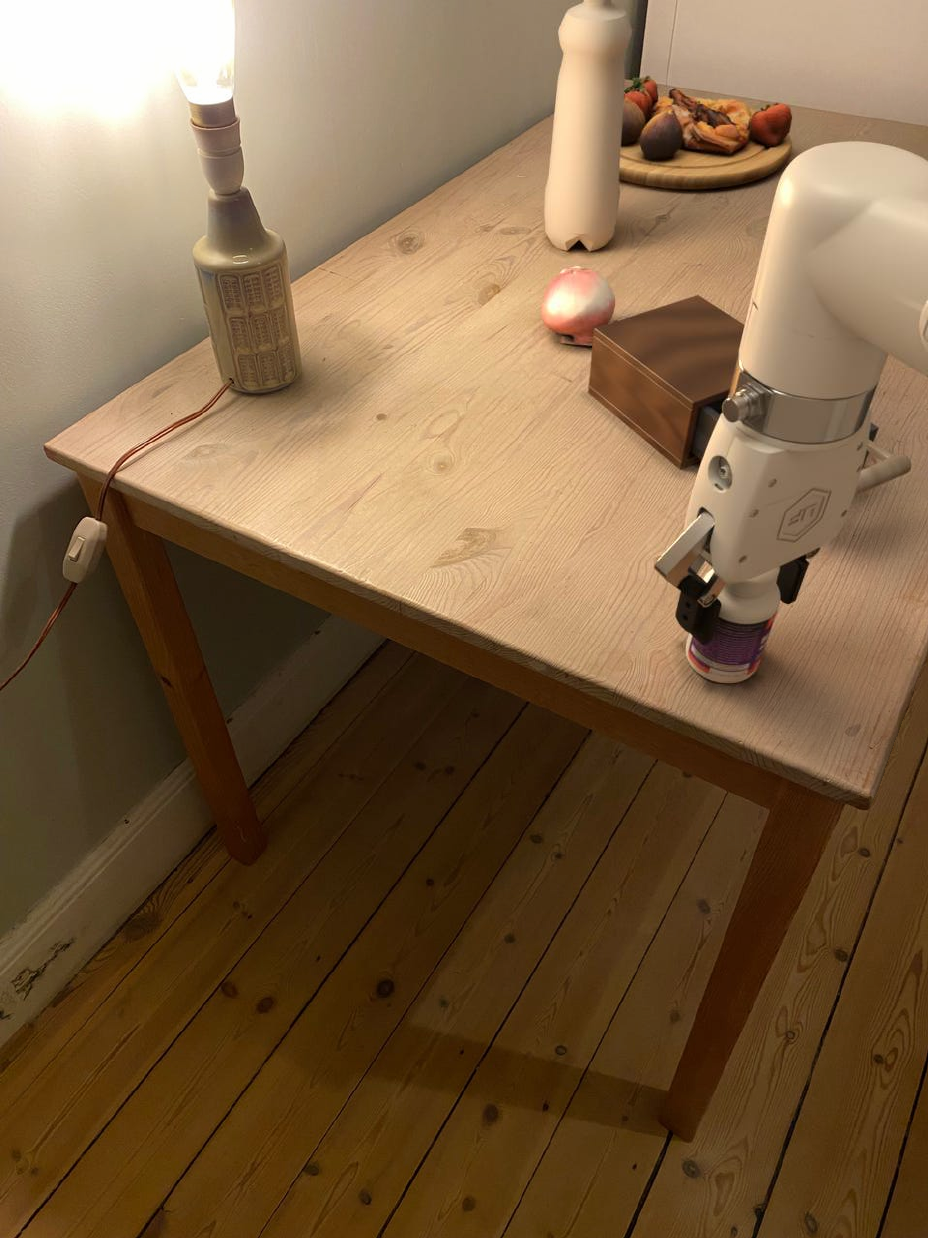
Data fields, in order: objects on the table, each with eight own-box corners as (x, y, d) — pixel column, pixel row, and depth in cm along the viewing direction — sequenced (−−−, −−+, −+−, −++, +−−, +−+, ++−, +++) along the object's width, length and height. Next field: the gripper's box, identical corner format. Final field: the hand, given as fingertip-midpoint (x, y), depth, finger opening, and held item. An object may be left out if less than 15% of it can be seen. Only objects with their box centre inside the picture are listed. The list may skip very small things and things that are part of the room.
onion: (596, 312, 103) (602, 250, 97) (625, 346, 98) (633, 282, 92) (529, 324, 101) (532, 261, 96) (555, 359, 96) (560, 295, 91)
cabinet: (784, 427, 87) (803, 361, 82) (679, 469, 83) (693, 402, 78) (686, 357, 96) (698, 294, 91) (587, 392, 92) (594, 327, 87)
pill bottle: (765, 686, 66) (799, 590, 59) (690, 685, 66) (715, 590, 59) (750, 630, 69) (781, 534, 62) (679, 630, 70) (702, 534, 62)
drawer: (907, 511, 77) (934, 451, 73) (807, 558, 73) (829, 498, 69) (755, 403, 88) (770, 345, 84) (661, 438, 85) (671, 380, 80)
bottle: (614, 225, 118) (644, -60, 96) (615, 257, 112) (648, -39, 90) (543, 223, 119) (558, -60, 97) (541, 254, 112) (555, -40, 91)
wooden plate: (817, 135, 138) (833, 74, 132) (743, 212, 120) (757, 145, 114) (625, 99, 150) (631, 41, 144) (531, 164, 132) (533, 101, 126)
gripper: (724, 476, 46) (670, 696, 59) (962, 378, 52) (864, 599, 65) (633, 403, 50) (602, 622, 63) (861, 321, 56) (789, 538, 69)
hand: (735, 609), depth 64 cm, fingers open, 6 cm apart
